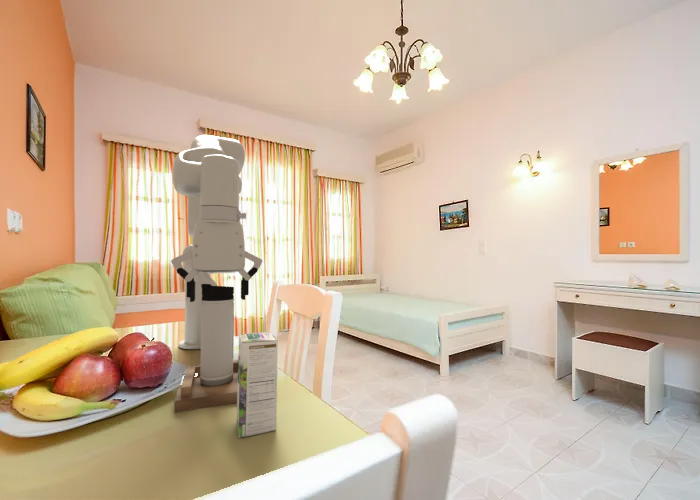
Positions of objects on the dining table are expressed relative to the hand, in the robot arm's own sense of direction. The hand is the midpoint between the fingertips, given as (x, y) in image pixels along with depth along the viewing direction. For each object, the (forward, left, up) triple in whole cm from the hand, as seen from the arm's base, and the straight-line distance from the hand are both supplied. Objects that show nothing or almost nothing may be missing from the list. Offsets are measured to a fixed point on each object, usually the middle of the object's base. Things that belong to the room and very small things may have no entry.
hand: (218, 299), depth 67 cm
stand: (0, 0, -19) cm, 19 cm away
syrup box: (+17, +6, -19) cm, 26 cm away
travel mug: (0, 0, -17) cm, 17 cm away
